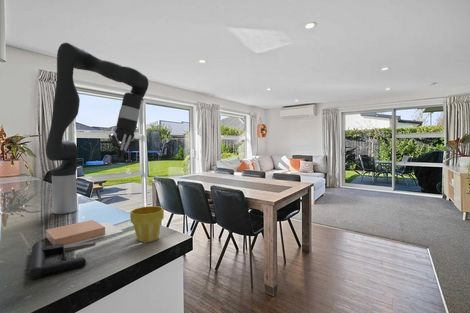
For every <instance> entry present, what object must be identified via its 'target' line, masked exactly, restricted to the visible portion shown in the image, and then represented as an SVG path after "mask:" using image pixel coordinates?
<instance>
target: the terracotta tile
mask: <svg viewBox="0 0 470 313" xmlns="http://www.w3.org/2000/svg"><path fill="white" fill-rule="evenodd" d="M103 234H105V227H104V226H102V225H101V224H100V223H99V222H97V221H95V220H94V219H90V220H85V221H80V222H76V223H72V224H67V225H61V226H58V227H57V226H56V227H53V228H52V227H51V228H48V229H45V238H46V239H47V240H48V241H49V242H50V244H51V245H57V244H63V243H64V245H66V244H70V243H73V242H77V241H81V240H85V239H88V238H92V237H96V236H100V235H103Z"/></svg>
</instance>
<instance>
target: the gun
mask: <svg viewBox="0 0 470 313" xmlns="http://www.w3.org/2000/svg"><path fill="white" fill-rule="evenodd" d="M95 245H96V241H95V240H94V241H86V242H82V243H78V244H75V245H69V246H64V243H63V244H57V245H52V244H51V245H46V244H45V242H43V241H37V242H35V243H34V244H33V245H32V248H31V253H30V258H29V260H30V261H29V266H28V269H25V270H23V272H26V271H28V272H27V273H26V274H24V276H26V275H27V276H28V278H29V279H30V280H32V281H33V280H38V279H40V278H43V277H45V276H51V275H54V274H56V275H57V274H59V273H64V272H68V271H73V270H77V269H80V268H81V269H82V268H83V267H85V266H86V263H87V260H86V258H85V257H82V256H81V257H80V256H79V257H75V258H69V259H67V258H66V257H67V256H66V252H70V251H74V250H80V249H83V248H87V247H91V246H95ZM29 250H30V248H28V251H29ZM60 254H63V255H62V256H63V260H59V261H58V260H55V261H53V262H49V263H46V258H48V257H52V256H56V255H60Z"/></svg>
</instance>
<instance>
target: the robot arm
mask: <svg viewBox="0 0 470 313" xmlns="http://www.w3.org/2000/svg"><path fill="white" fill-rule="evenodd" d="M75 69H76V70H82V71H86V72H87V71H89V72H93V73H97V74H99V75H100V76H102V77H104V78H106V79H109V80H112V81H114V82H116V83H117V82H118V83H120V84H121V83H123V84H125V85H127V86H129V87H131V89H130V92H125V93H124V94H123V98H122V102H121V106H120V109H119V111H118V117H117V121H116V129H115V131H114V133H112V134H111V133H110V134H108V138H109V140H110V143H111V144H112V147H113V148H115V149H116V154H115V158H116V159H118V160H123V159H124V157H125V154H126V151H129V150H131V149H132V148H133V147H134V146H135V145H136V144H137V143H138V141H139V140H138V139H136V137H135V132H136V130H137V126H138V122H139V118H140V109H141V104H142V101H143V99H144V97H145V94H146V93H147V90H148V88H149V79H148V76H146V75H145V74H143V73H142V72H141V71H140V70H138V69H135V68H132V67H130V66H124V65H121V64H119V63H116V62H113V61H110V60H105V59H101V58H98V57H96V56H95V55H93V54H91V53H89V52H88V51H86V50H85V49H83V48H81V47H78V46H77V45H74V44H71V43H69V42H62V43H61V44H60V45H59V47H58V49H57V52H56V81H55V90H54V91H55V93H54V98H53V107H52V116H51V123H50V128H49V133H48V136H47V140H46V145H45V154H46V158H47V159H48V160H49V161H52V162H57V161H62V162H61V164H60V165H59V166H58V165H57V167H55V168H52V169H51V189H52V190H51V192H52V193H51V194H52V195H51V196H52V213H53V214H54V215H63V214H70V213H74V212H77V211H78V193H77V169H78V155H79V154H78V149H79V148H78V146H77V143H76V142H75V141H73V140H66V139H65V140H63V138H64V134H65V132H66V130H67V129H68V127H69V126H70V125H71V124H72V123H73V121H74V120H75V119H76V117H77V116H78V114H79V111H80V109H79V108H80V100H81V99H80V96H79V92H78V90H77V88H76V85H75V82H74V70H75Z"/></svg>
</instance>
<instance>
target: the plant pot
mask: <svg viewBox="0 0 470 313" xmlns="http://www.w3.org/2000/svg"><path fill="white" fill-rule="evenodd" d="M129 214H130V217H129V218H130V222H131V224H132V225H133V228H134V232H135V235H136V240H137V241H138V242H139V241H140V242H141V243H151V242H152V243H153V242H154V241H157V240H158V239H160V238H159V237H160V231H161V226H162V221H163V220H164V216H165V215H164V214H165V213H164V208H163V206H158V205H149V206H141V207H136V208H134V209H131V210H130V213H129Z"/></svg>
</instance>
